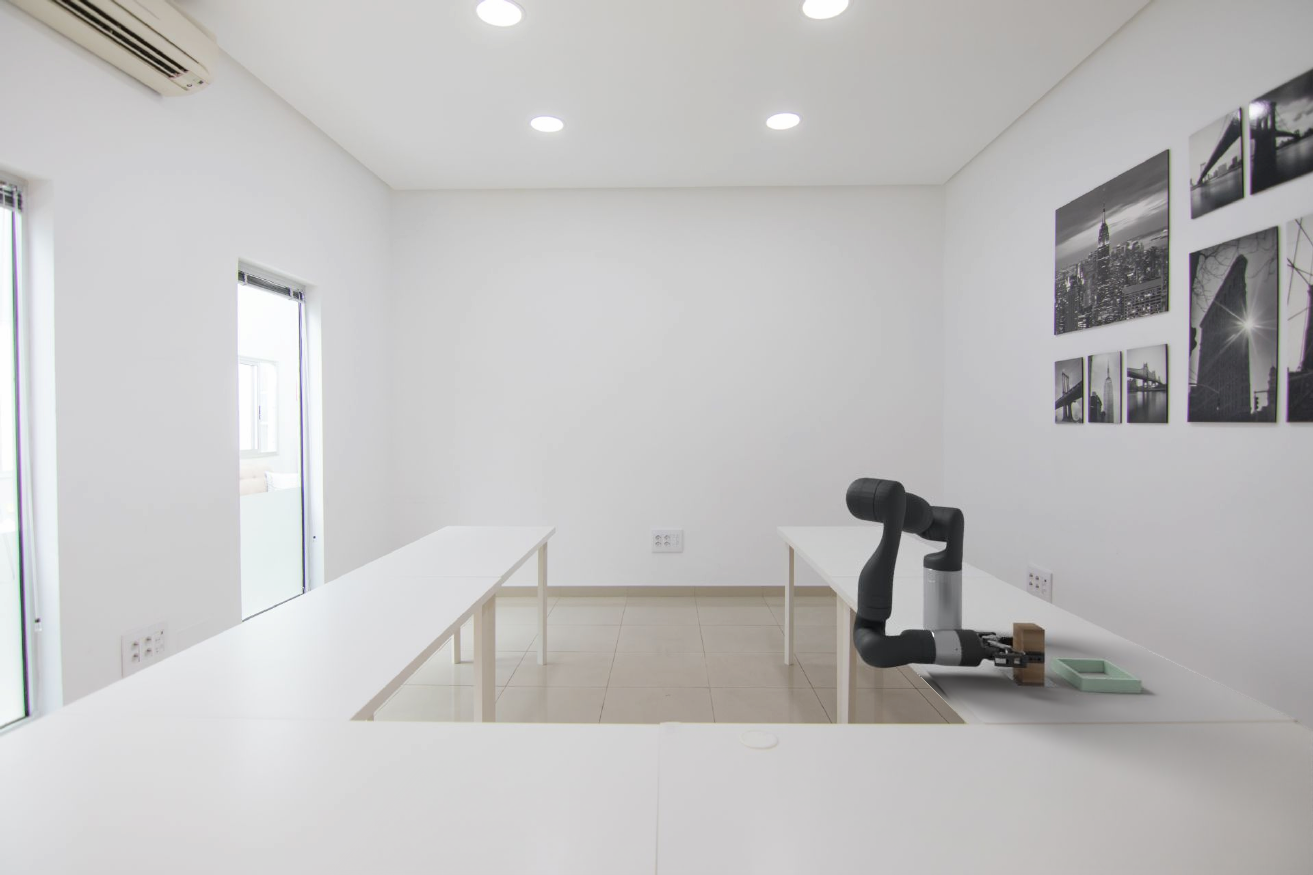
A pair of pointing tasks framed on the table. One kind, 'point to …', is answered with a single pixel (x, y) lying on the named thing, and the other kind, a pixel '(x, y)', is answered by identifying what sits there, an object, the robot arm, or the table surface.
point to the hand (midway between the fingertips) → (1032, 649)
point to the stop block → (1029, 640)
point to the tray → (1117, 683)
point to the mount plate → (1020, 683)
